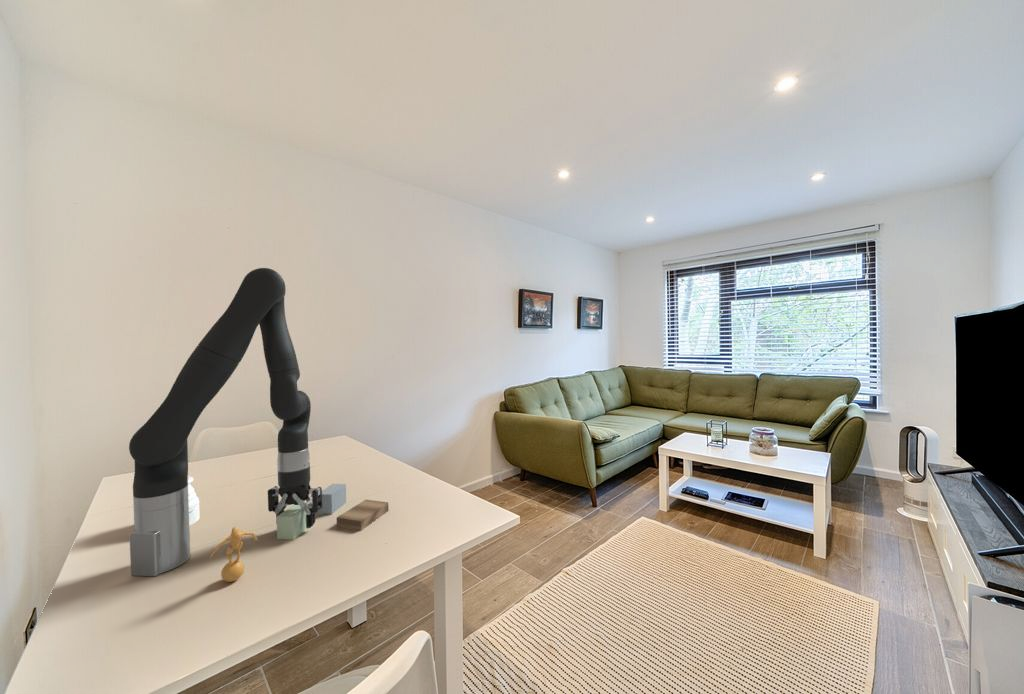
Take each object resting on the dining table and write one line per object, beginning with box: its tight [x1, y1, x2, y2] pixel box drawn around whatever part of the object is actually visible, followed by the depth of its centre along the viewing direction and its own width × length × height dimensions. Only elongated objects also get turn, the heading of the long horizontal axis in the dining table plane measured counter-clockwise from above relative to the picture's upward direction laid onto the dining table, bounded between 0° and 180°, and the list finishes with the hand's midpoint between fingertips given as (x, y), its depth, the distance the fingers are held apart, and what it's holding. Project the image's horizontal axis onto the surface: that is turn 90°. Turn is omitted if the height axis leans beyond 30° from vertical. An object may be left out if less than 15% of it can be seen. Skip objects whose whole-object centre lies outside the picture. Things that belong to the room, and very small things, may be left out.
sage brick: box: [276, 504, 309, 540], centre depth 101 cm, size 8×4×6 cm, turn 175°
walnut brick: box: [336, 499, 389, 532], centre depth 108 cm, size 12×8×3 cm, turn 163°
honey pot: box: [188, 475, 201, 527], centre depth 106 cm, size 13×13×18 cm
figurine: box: [209, 526, 258, 583], centre depth 80 cm, size 8×6×12 cm
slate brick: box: [316, 483, 347, 515], centre depth 115 cm, size 8×4×6 cm, turn 175°
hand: (296, 526), depth 101 cm, fingers open, 7 cm apart
